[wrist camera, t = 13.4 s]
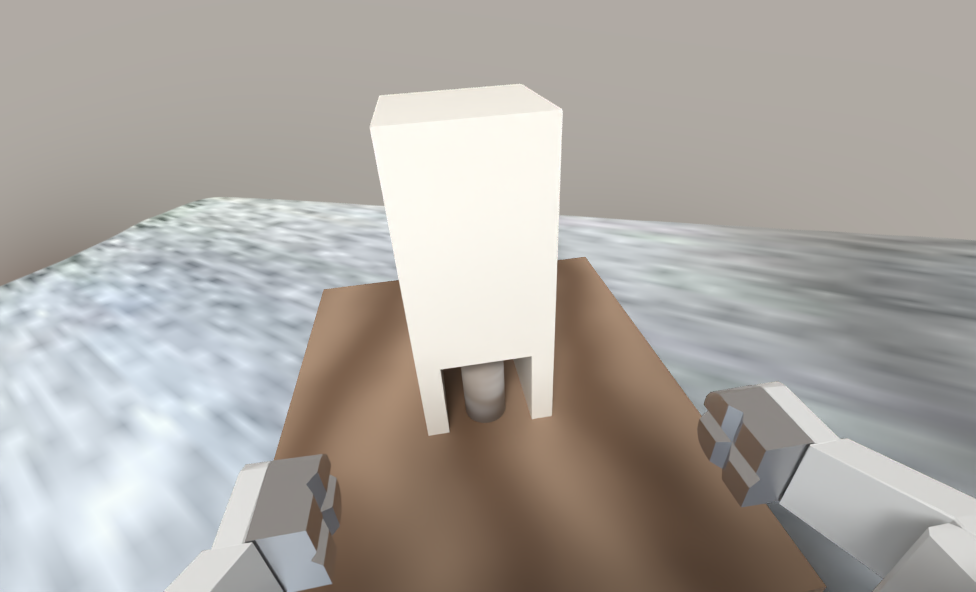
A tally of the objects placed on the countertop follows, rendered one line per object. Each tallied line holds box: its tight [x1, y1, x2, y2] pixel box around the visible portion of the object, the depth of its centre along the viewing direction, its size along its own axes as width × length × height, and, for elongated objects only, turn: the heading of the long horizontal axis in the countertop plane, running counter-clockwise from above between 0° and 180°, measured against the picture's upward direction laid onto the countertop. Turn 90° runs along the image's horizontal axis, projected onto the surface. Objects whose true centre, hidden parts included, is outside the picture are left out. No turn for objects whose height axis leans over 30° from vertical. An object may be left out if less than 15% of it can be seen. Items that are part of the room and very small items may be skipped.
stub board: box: [274, 257, 826, 592], centre depth 23 cm, size 20×24×4 cm
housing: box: [370, 84, 563, 436], centre depth 20 cm, size 6×6×14 cm
